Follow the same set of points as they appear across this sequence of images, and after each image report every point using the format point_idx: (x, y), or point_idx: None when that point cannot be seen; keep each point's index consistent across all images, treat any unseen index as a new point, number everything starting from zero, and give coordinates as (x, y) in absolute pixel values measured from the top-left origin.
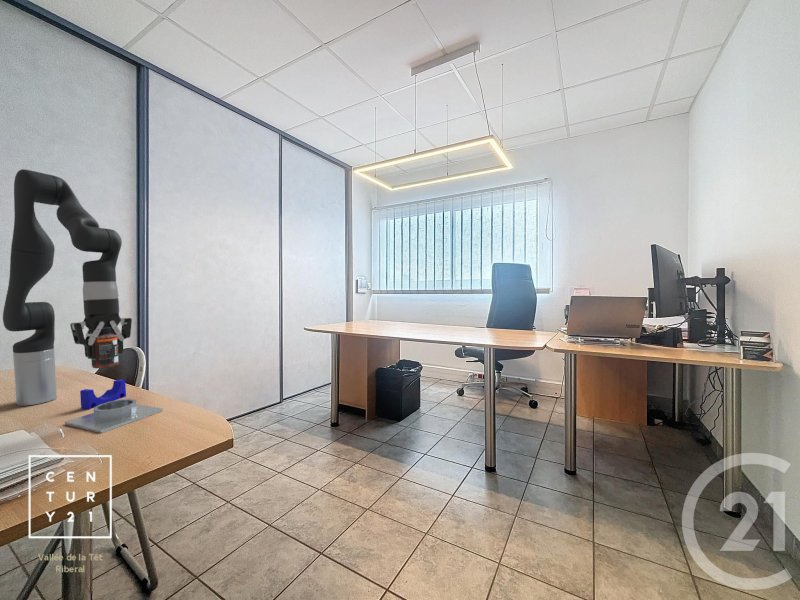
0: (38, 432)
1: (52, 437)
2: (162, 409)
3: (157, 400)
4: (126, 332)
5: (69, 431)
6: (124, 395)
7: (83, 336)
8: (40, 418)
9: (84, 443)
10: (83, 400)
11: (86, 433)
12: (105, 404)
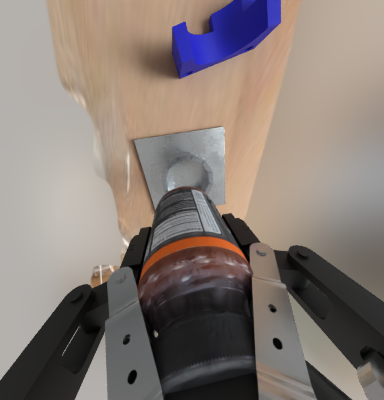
0: (103, 141)
1: (117, 181)
2: (224, 202)
3: (251, 148)
4: (301, 305)
5: (135, 177)
6: (252, 48)
7: (88, 362)
8: (106, 39)
9: (139, 226)
10: (175, 53)
11: (147, 201)
12: (182, 160)
